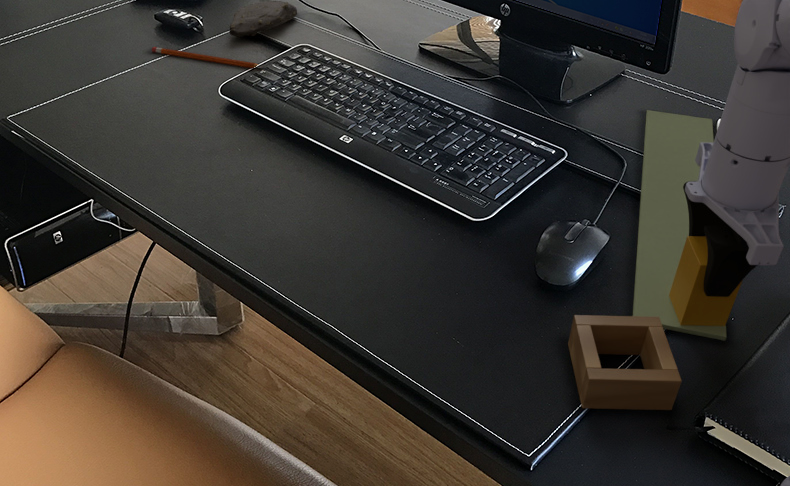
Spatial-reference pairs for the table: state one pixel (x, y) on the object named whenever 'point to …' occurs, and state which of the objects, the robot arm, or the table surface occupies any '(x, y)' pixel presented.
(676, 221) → the mat
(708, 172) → the robot arm
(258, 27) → the stone
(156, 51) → the pencil
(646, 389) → the stand
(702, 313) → the block
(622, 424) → the table surface
